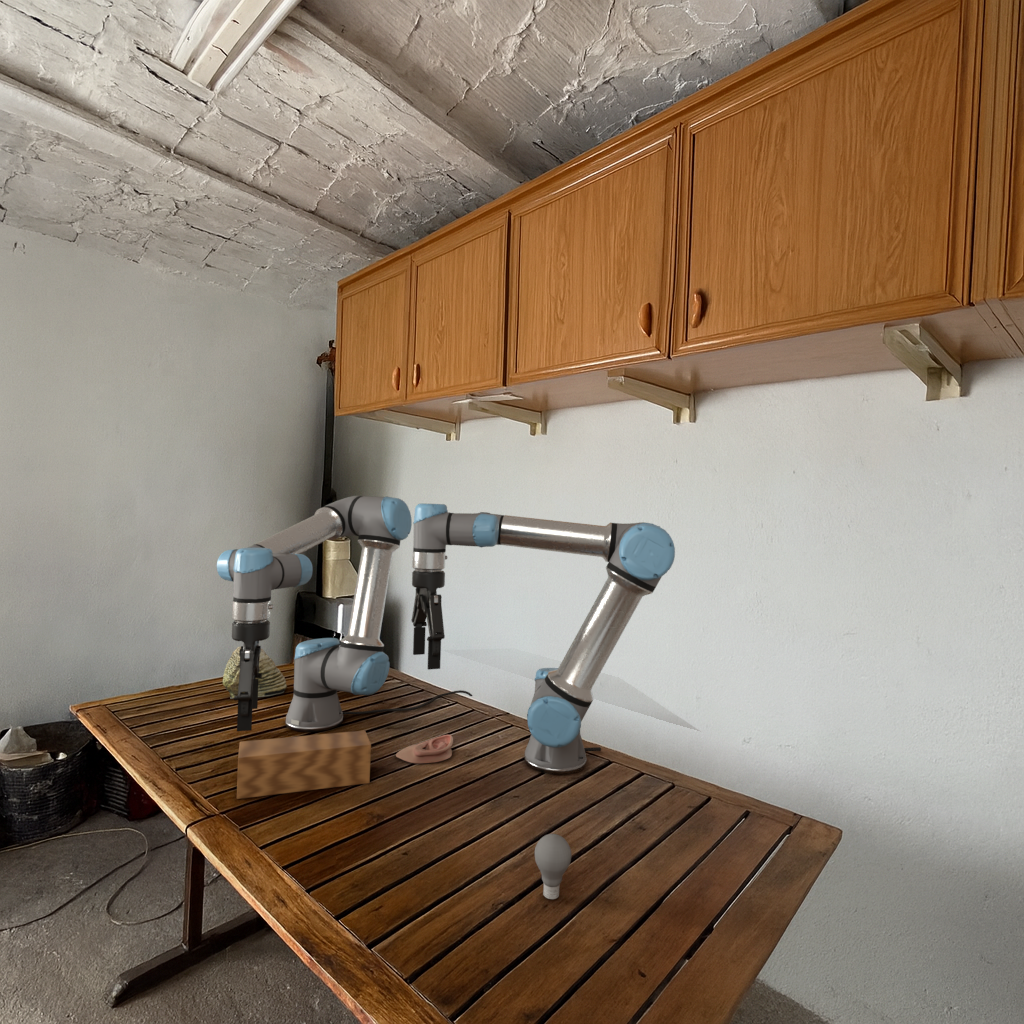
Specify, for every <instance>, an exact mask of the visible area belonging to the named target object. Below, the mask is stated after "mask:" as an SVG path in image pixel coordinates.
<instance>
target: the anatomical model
mask: <svg viewBox="0 0 1024 1024" xmlns="http://www.w3.org/2000/svg"><path fill="white" fill-rule="evenodd" d="M453 745H454V737H453V735H451V734H443V735H440V736H436V737H432V738H430V739H428V740H426V741H421V742H419V743H416V744H411V745H409V746H407V747H404V748H402V749H401V750H399V751H397V752H396V754H395V757H396V758H397V759H400V760H402V761H404V762H407V763H411V764H430V763H431V764H432V763H438V762H443V761H445V760H448V759H450V758H451V757H452V755H453V750H452V749H451V748H452V746H453Z"/></svg>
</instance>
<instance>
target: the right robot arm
mask: <svg viewBox="0 0 1024 1024" xmlns="http://www.w3.org/2000/svg"><path fill="white" fill-rule="evenodd" d="M412 525H413V546H412V547H413V548H412V561H411V562H412V564H411V565H412V566H411V568H412V569H414V570H413V571H412V572H411V573H412V574H411V584H412V587H413V588H415V597H414V603H413V608H412V615H411V623H412V626H413V642H412V643H413V644H412V655H413V656H421V655H425V653H426V641H427V670H428V671H430V670H440V669H441V655H442V640H444V639H445V627H444V618H443V617H444V616H443V607H442V594H438V593H437V592H438V589H443V588H444V587H445V586H446V584H445V583H446V572H445V571H444V569H445V568H446V560H448V555H446V551H447V550H446V549H447V546H459V547H461V546H462V547H477V548H478V547H479V548H487V547H488V548H489V547H490V548H492V547H495V546H505V547H514V548H522V549H530V550H531V549H532V550H539V551H546V552H547V551H549V552H557V553H565V554H572V555H573V554H574V555H583V556H588V557H591V556H592V557H597V558H602V559H603V560H604V561H605V562H606V563H607V565H606V566H605V570H606V573H607V579H606V581H605V582H604V584H603V586H602V588H601V589H600V591H599V593H598V595H597V597H596V599H595V601H594V602H593V604H592V606H591V608H590V609H589V612H588V613H587V615H586V616H585V618H584V621H583V622H582V624H581V626H580V628H579V630H578V632H577V633H576V635H575V637H574V639H573V641H572V642H571V644H570V646H569V648H568V650H567V651H566V653H565V655H564V657H563V659H562V661H561V662H560V664H559V666H558V667H542V668H539V669H537V670H536V672H535V677H534V694H533V696H532V699H531V702H530V706H529V707H528V709H527V713H526V720H527V728H528V730H529V732H530V737H529V739H528V742H527V745H526V747H525V750H524V763H525V764H526V766H528V767H529V768H530V769H532V770H534V771H537V772H540V773H543V774H548V775H559V776H560V775H561V776H563V775H572V774H576V773H579V772H581V771H583V770H584V769H585V768H586V766H587V753H589V752H601V751H602V748H601V747H600V746H598V747H595V746H594V747H593V746H592V747H585V746H584V742H583V739H582V735H581V728H582V721H583V719H584V718H585V716H586V714H587V713H588V710H589V709H590V707H591V705H592V703H593V701H594V695H593V691H592V689H593V687H594V685H595V684H596V681H597V680H598V678H599V676H600V675H601V673H602V671H603V669H604V667H605V665H606V663H607V662H608V659H609V658H610V656H611V654H613V653H612V652H613V651H614V649H615V648H616V646H617V643H618V642H619V640H620V639H621V636H622V634H623V633H624V631H625V629H626V628H627V626H628V624H629V622H630V621H631V618H632V617H633V615H634V613H635V612H636V609H637V608H638V606H639V604H640V602H641V600H642V598H644V597H645V596H647V595H652V594H653V593H654V591H655V589H656V587H657V586H658V584H659V582H660V581H661V579H662V578H663V576H665V574H667V573H668V571H670V570H671V568H672V566H673V564H674V562H675V557H676V556H675V555H676V547H675V544H674V540H673V539H672V537H671V535H670V534H669V532H667V530H666V529H664V528H662V527H661V526H660V525H658V524H657V525H656V524H654V523H651V522H644V521H643V522H632V523H631V522H630V523H619V522H609V523H608V524H607V525H598V524H590V523H581V522H572V521H571V522H570V521H561V520H553V519H552V520H551V519H545V518H544V519H543V518H535V517H527V516H526V517H524V516H515V515H507V514H505V515H504V514H499V513H498V514H497V513H490V512H487V511H485V512H484V511H479V512H476V513H475V512H474V513H471V512H470V513H469V512H468V513H464V512H463V513H462V512H461V513H460V512H459V513H457V512H455V513H454V512H449V510H448V506H447V504H444V503H418V504H416V505H415V508H414V516H413V521H412ZM426 627H427V628H428V635H429V636H427V638H426ZM586 752H587V753H586Z"/></svg>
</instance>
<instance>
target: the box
mask: <svg viewBox="0 0 1024 1024" xmlns="http://www.w3.org/2000/svg"><path fill="white" fill-rule="evenodd" d="M371 754H372V744H371V741H370V739H369V736H368V734H367V732H366V729H365V730H356V731H355V730H354V731H343V732H331V733H321V734H320V733H319V734H310V735H309V734H308V735H299V736H289V737H288V736H287V737H276V738H266V739H253V740H245V741H239V747H238V756H237V777H236V778H237V779H236V799H237V800H240V799H248V798H256V797H257V798H258V797H265V796H274V795H281V794H291V793H298V792H306V791H315V790H323V789H331V788H339V787H347V786H356V785H365V784H366V785H367V784H370V781H371V779H370V778H371Z"/></svg>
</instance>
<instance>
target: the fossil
mask: <svg viewBox="0 0 1024 1024" xmlns="http://www.w3.org/2000/svg"><path fill="white" fill-rule="evenodd" d="M240 649H241V646H238V647H237V648H236V649H235V650H233V651H232V653H231V656H230V657H229V659H228V660H227V663H226V666H225V668H224V671H223V675H222V676H223V677H222V685H223V687H224V688H225V690H226V691H228V693H229V698H230V699H234V696H237V695H238V685H239V673H240V667H239V663H240V656H239V651H240ZM259 669H260V672H259V673H262V678H256V679H259V681H258V698H264V697H271V696H275V695H281V694H284V693H285V691H286V689H287V687H288V686H287V680H286V678H285V676H284V674H283V673H282V672H281V669H279V668H278V667H277V665H276V663H275V662H274V660H273V659H272V658H271V657H270V656H269V655H268V654H267V653H266V652H265V650H264V649H263V648H261V652H260V660H259ZM242 693H245V692H242Z"/></svg>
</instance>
